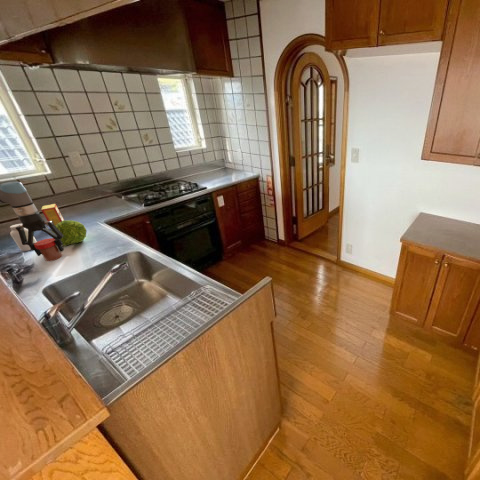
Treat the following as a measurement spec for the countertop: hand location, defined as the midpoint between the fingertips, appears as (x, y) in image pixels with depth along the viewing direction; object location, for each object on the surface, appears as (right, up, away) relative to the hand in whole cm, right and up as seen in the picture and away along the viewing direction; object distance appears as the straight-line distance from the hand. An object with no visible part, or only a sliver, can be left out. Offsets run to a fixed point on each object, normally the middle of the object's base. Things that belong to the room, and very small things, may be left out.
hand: (51, 252), depth 140 cm
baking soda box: (-37, +15, +42) cm, 58 cm away
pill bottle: (-29, +2, +16) cm, 33 cm away
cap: (0, +5, -3) cm, 6 cm away
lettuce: (-8, +6, +23) cm, 25 cm away
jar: (0, -5, +2) cm, 5 cm away
